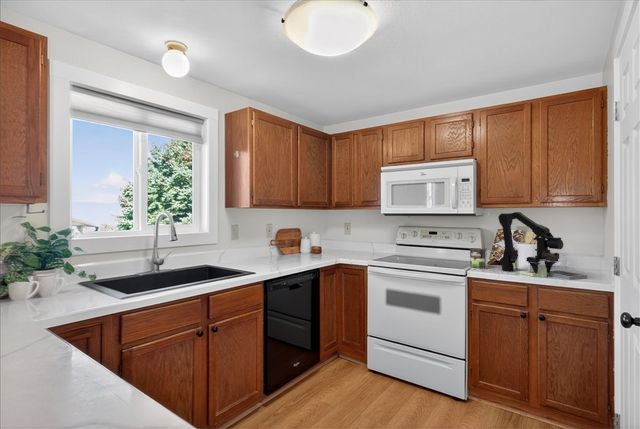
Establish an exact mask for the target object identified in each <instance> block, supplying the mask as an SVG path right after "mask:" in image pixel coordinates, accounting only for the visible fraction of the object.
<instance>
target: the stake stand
mask: <svg viewBox="0 0 640 429" xmlns="http://www.w3.org/2000/svg"><path fill="white" fill-rule="evenodd" d="M529 271H530V273H534V270H533V268H532V266H531V265H530V264H529ZM517 274H518V275H523V276H525V275H524V274H520V273H517ZM526 276H527V277H528V276H529V275H526ZM529 277H530V276H529ZM531 277H532V278H533V277H535V278H536V277H539V276H531Z"/></svg>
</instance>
